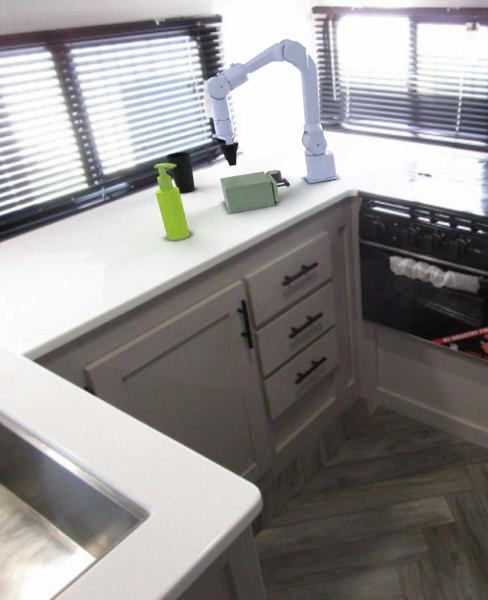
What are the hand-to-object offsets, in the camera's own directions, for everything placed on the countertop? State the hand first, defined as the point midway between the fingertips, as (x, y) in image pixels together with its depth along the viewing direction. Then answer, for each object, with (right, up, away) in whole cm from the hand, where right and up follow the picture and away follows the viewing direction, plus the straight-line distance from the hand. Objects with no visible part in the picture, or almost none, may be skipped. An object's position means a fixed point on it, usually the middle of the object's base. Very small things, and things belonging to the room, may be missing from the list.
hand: (231, 162), depth 183 cm
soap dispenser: (-7, -27, -25) cm, 37 cm away
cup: (-18, -7, +11) cm, 22 cm away
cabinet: (+7, -14, -5) cm, 16 cm away
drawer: (+11, -12, -4) cm, 17 cm away
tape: (+11, -3, +14) cm, 18 cm away
